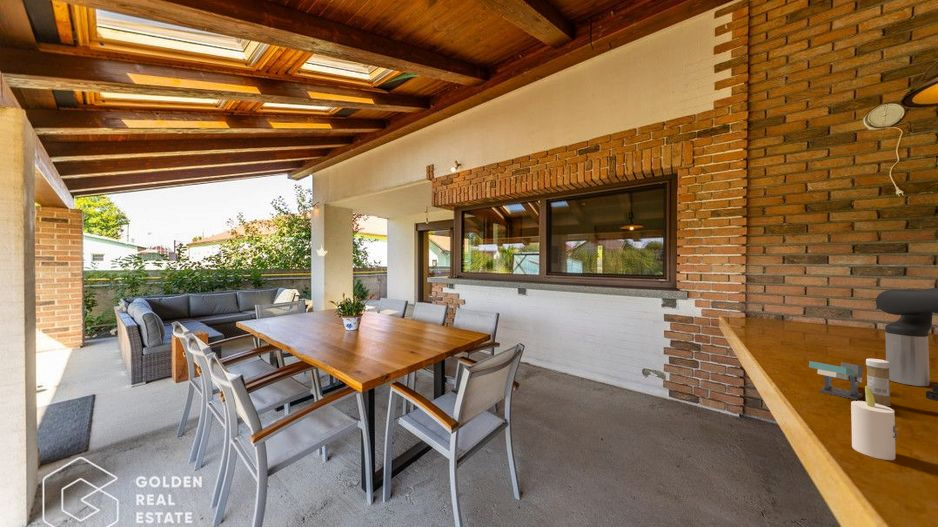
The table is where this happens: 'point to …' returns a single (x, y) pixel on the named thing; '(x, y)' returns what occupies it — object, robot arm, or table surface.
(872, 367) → the sprinkles bottle
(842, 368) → the beam
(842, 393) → the pivot stand
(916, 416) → the table surface
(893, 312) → the robot arm
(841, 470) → the table surface
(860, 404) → the candle
